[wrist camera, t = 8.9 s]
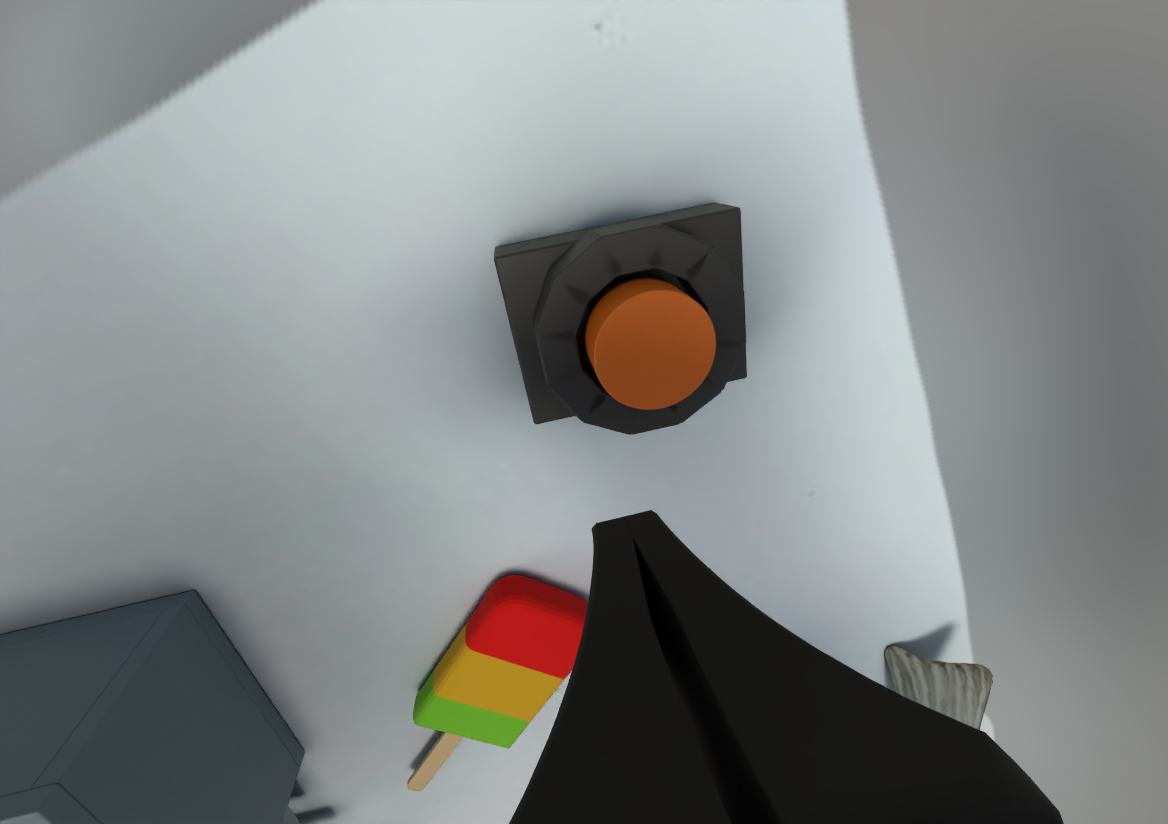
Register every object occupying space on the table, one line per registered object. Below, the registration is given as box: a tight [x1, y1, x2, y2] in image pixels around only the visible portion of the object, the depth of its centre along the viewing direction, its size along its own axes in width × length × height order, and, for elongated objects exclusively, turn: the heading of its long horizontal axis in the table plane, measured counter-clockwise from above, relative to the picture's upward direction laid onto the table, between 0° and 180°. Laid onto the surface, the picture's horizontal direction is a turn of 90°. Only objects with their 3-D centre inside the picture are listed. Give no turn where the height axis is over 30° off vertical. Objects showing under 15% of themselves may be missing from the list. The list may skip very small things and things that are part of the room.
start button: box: [585, 278, 716, 410], centre depth 16 cm, size 4×4×2 cm
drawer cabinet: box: [0, 591, 305, 824], centre depth 21 cm, size 12×11×9 cm
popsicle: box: [407, 575, 588, 791], centre depth 27 cm, size 6×15×2 cm, turn 148°
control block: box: [494, 203, 747, 435], centre depth 18 cm, size 8×6×4 cm
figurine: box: [885, 646, 993, 730], centre depth 31 cm, size 9×19×10 cm
